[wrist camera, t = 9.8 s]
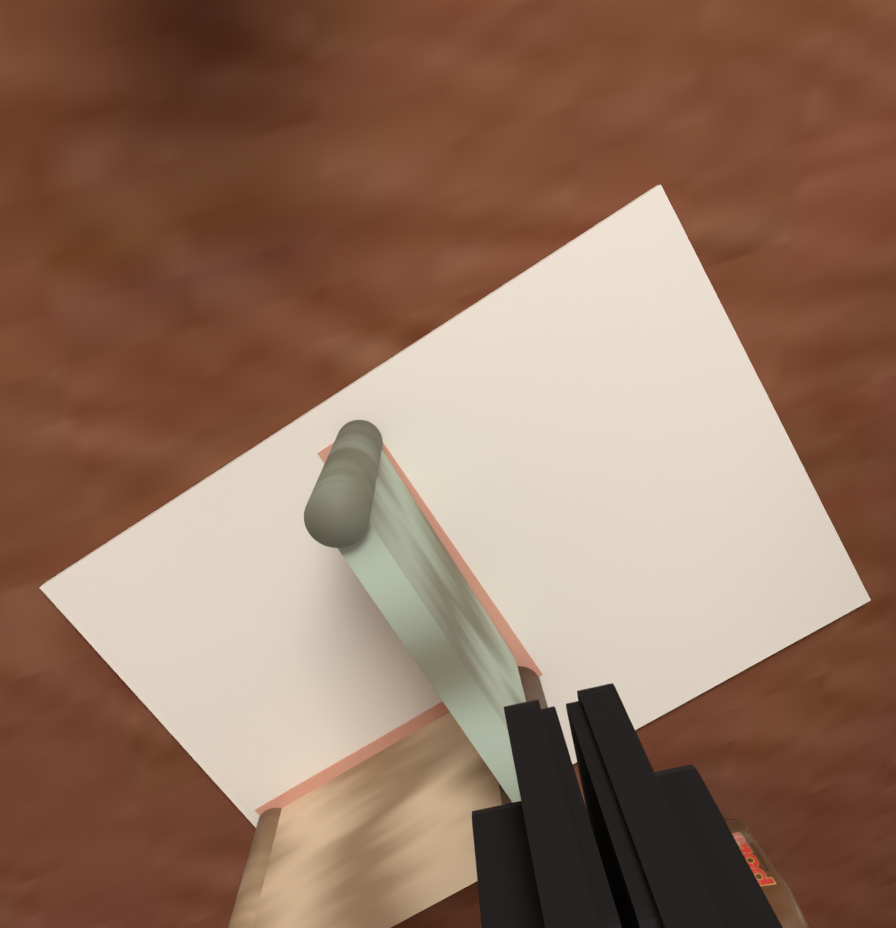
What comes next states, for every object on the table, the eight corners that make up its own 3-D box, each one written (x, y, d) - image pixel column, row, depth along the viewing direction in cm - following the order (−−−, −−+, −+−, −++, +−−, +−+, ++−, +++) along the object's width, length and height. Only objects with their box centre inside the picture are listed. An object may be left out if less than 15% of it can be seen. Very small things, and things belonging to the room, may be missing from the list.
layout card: (656, 185, 26) (661, 184, 26) (863, 595, 31) (871, 600, 31) (45, 582, 30) (38, 588, 29) (324, 893, 35) (322, 903, 34)
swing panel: (521, 654, 31) (558, 796, 23) (485, 673, 31) (509, 820, 23) (366, 411, 27) (346, 475, 19) (327, 434, 28) (290, 507, 20)
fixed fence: (525, 657, 31) (565, 803, 23) (548, 690, 31) (595, 844, 23) (248, 817, 33) (192, 1006, 24) (274, 846, 33) (228, 1041, 25)
